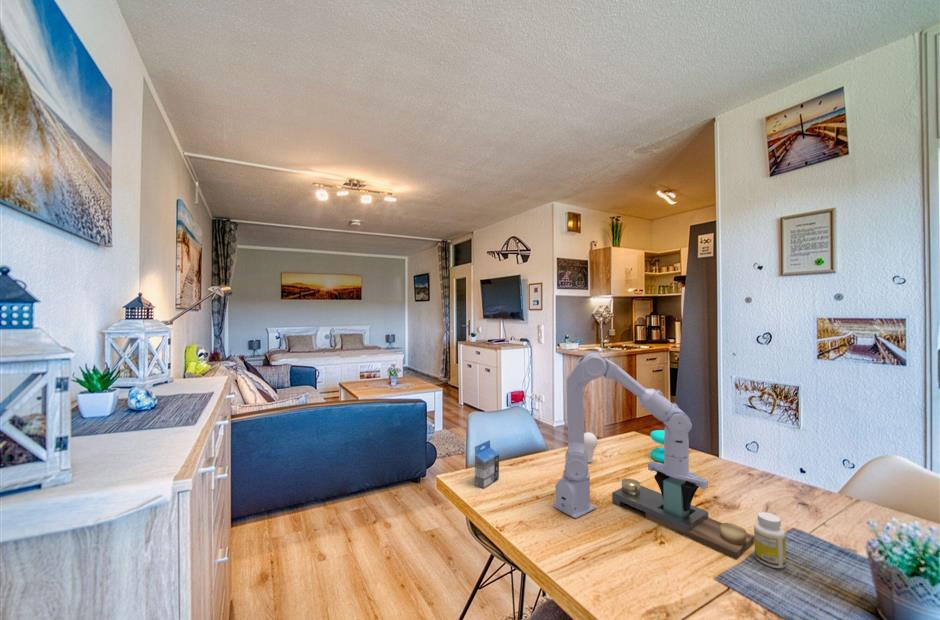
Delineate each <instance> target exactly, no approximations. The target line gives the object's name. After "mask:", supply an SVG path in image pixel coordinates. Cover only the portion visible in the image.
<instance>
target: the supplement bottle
mask: <svg viewBox="0 0 940 620" xmlns="http://www.w3.org/2000/svg"><path fill="white" fill-rule="evenodd" d="M781 522H782V521H781V518H780V517H779V516H777V515H775V514H773V513H770V512H762V511H760V512H758V513H757V522H755V523H754V525H753V530H754V531H753V533H754V535H753V536H754V543H753V544H754V557H755V559H756V560H757V561H758V562H760V563H761V564H763V565H764V566H768V567H770V568H772V569H783V568H785V567H786V565H787V562H786V559H787V556H786V554H787V553H786V533H785V531H784V530H783V529H782V528H781V525H782V524H781Z"/></svg>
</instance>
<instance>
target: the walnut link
mask: <svg viewBox="0 0 940 620" xmlns="http://www.w3.org/2000/svg"><path fill="white" fill-rule="evenodd" d="M689 515H691V514H689ZM645 519H647V520H649V521H651V522H654V523H655V524H658V525H660V526H662V527H665V528H667V529H669V530H671V531H673V532H675V533H678V534H679V535H682V536H683V537H686V538H688V539H691V540H693V541H695V542H697V543H699V544H702V545H703V546H705V547H708V548H710V549H713V550H714V551H717V552H719V553H721V554H723V555H724V556H725V555H726V556H727V557H730V558H732V559H734V560H738V559H739V558H740V557H741V556H742V555H744V553H745V552H747V550H748V549H750V547H751V546H752V545H753V544H754V535H753V534H751V533H748V532H747V531H746V529H745V528H743V527H742V526H740V525H738V524H735V523H732V522H721V521H718V520H715V519H714V518H711V517H708V518H707V519H706V520H704V521H703V522H702V523H700V524H699V525H697V526H696V527H695V528H693V529H692V530H691V531H689V532H688V531H686V530H684V529H682V528H680V527H677V526H675V525H673V524H671V523H668V522H666V521H664V520H662V519H659V518H657V517H655V516H653V515H650V514H648V513H646V512H645Z"/></svg>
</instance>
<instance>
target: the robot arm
mask: <svg viewBox="0 0 940 620" xmlns="http://www.w3.org/2000/svg"><path fill="white" fill-rule="evenodd" d="M601 377H604V379H607V380H614V381H616V382H618V383H619V384H620V385H621V386H622V387H624V388H626V389H627V390H628V391H629V392H630V393H632V394H633V395H634V396H636V397H637V398H638V403H639V405H640V406H641V407H642V408H644V410H646V411H647V412H649V414H651V415H652V416H653V417H655V418H656V419H657V420H658V421H661V422H662V423H663V425H664V430H665V435H664V445H663V448H664V463H659V462H655V461H650V462H648V463H647V470H648V471H651V472H653V471H654V472H656V474H654V475H653V476H654V480H655V482H656V483H657V486H658V488H659V490H660V493H661V494H662V497H663V501H664V493H663V480H665V479H667V478H669V477H673V478H676V479H679V480H682V481H685V483H684V484H682V485H681V489H682V494H683V510H684V511H688V510H690V505H692V502H693V498H694V496H695V495H696V492H697V490H698V489H699V488H700V489H702V490H706V489H707V488H709V479H706V478H703V477H702V476H699V475H697V474H696V473H693V472H691V471H690V468H689V466H690V465H689V464H690V463H689V461H690V457H689V456H690V455H689V453H690V452H689V451H690V448H689V446H690V444H689V443H690V442H689V441H690V439H689V432H690V431H691V430H692V429H693V427H692V426H693V423H692V422H691V419H690V417H689V415H687V414H686V413H685V412H684V411H683V410H682V409H680V407H679V405H678V404H677V403H676V402H671V401H670V400H669V399H667V398H666V397H665V396H664V394H663V392H662V391H661V390H660V389H657V390H656V389H655V388H646V387H644V386H643V385H642V384H641V383H640V382H638V381H637V380H636V379H635V378H633V377H632V376H630V374H628V373H627V371H625V370H624V369H622V368H621V366H619V365H618V364H617V363H614V362H613V361H611V360H609V359H608V358H606V357H603V356H602V355H601V354H600V353H598V352H596V351H589V352H587V353H586V354H584V355H583V356H581V357H580V358H579V359H578V361H577V362H576V364H574V367H573V368H572V370H571V371H570V373H569V374H568V376H567V377H566V410H567V411H566V413H567V414H566V415H567V416H566V417H567V418H566V419H567V450H566V452H565V455H564V456H565V463H564V470H563V472H562V473H563V475H562V477H561V478H560V479H559V480H558V481H557V482H556V484H555V503H554V504H552V506H553V507H554V508H556V509H557V510H559V511H561V512H562V513H564V514H566V515H568V516H569V517H572V518H573V519H577V518H580V517H581V516H583V515H585V514H587V513H590V512H591V511H593V510H595V509H597V506H596V505H595V504H593V503H590V502H591V501H590V499H591V498H590V497H591V496H590V495H591V493H590V492H591V488H590V487H591V485H590V483H591V482H590V480H591V478H590V477H591V476H590V473H589V465H588V462H587V460H588V459H587V454H586V452H585V450H584V433H585V428H584V427H585V423H584V419H585V418H584V387H586V385H588V384H589V383H591V381H594V380H596V379H599V378H601Z"/></svg>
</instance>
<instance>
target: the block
mask: <svg viewBox="0 0 940 620" xmlns="http://www.w3.org/2000/svg"><path fill="white" fill-rule="evenodd" d="M684 483H685V481H682V480H679V479H676V478H673V477H669V478H667V479H665V480H663V493H664V511H666V512H669V513H671V514H673V515H676V516H678V517H680V518H683V519H685V518H686V517H688V516H689V510H688V511H684V510H683V494H682V489H681V485H682V484H684Z"/></svg>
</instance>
